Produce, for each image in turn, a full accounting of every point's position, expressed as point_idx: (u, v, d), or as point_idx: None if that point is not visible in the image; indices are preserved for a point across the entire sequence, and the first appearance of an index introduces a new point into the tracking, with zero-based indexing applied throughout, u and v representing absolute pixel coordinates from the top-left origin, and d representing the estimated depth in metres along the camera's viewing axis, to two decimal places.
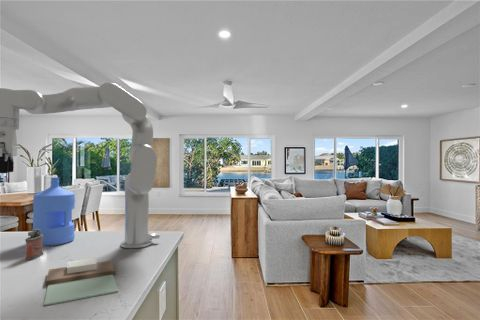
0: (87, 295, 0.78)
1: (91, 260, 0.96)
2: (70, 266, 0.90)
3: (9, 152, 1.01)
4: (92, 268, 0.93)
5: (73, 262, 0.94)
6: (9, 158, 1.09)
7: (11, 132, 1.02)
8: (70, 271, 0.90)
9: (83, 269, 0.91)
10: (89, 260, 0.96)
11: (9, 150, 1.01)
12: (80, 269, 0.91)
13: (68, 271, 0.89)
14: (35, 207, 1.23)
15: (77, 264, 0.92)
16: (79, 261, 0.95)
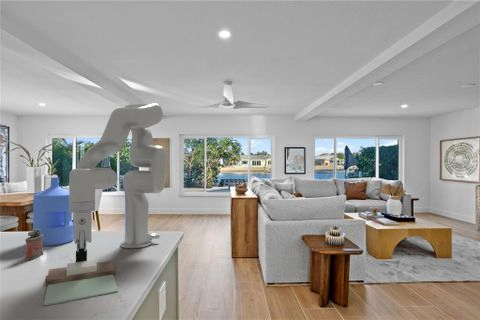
0: (87, 295, 0.78)
1: (91, 262, 0.94)
2: (69, 268, 0.89)
3: (88, 240, 0.93)
4: (92, 270, 0.91)
5: (73, 264, 0.92)
6: None
7: (90, 217, 0.94)
8: (70, 273, 0.88)
9: (83, 271, 0.90)
10: (89, 262, 0.94)
11: (88, 238, 0.93)
12: (80, 271, 0.89)
13: (68, 273, 0.88)
14: (35, 207, 1.23)
15: (77, 266, 0.90)
16: (79, 263, 0.93)
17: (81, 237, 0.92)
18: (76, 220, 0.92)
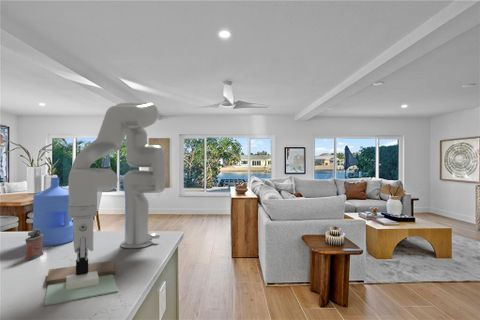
0: (87, 295, 0.78)
1: (93, 274, 0.87)
2: (69, 281, 0.82)
3: (90, 248, 0.84)
4: (94, 283, 0.84)
5: (72, 277, 0.85)
6: None
7: (91, 223, 0.85)
8: (70, 287, 0.81)
9: (84, 284, 0.83)
10: (90, 274, 0.87)
11: (90, 246, 0.84)
12: (81, 284, 0.82)
13: (67, 287, 0.81)
14: (35, 207, 1.23)
15: (78, 279, 0.83)
16: (79, 275, 0.86)
17: (82, 245, 0.83)
18: (76, 226, 0.83)
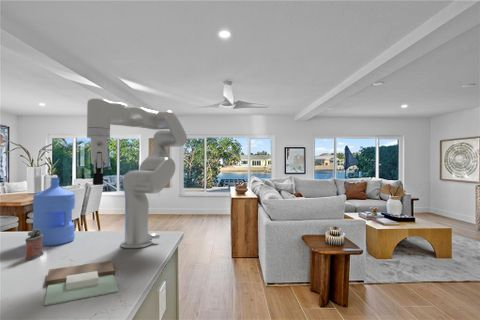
0: (87, 295, 0.78)
1: (93, 274, 0.87)
2: (69, 281, 0.82)
3: (105, 161, 1.03)
4: (94, 283, 0.84)
5: (72, 277, 0.85)
6: None
7: (106, 142, 1.04)
8: (70, 287, 0.81)
9: (84, 284, 0.83)
10: (90, 274, 0.87)
11: (105, 160, 1.03)
12: (81, 284, 0.82)
13: (67, 287, 0.81)
14: (35, 207, 1.23)
15: (78, 279, 0.83)
16: (79, 275, 0.86)
17: (98, 158, 1.02)
18: (94, 143, 1.02)
